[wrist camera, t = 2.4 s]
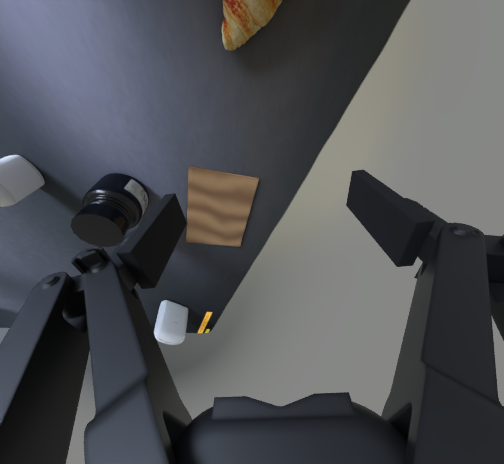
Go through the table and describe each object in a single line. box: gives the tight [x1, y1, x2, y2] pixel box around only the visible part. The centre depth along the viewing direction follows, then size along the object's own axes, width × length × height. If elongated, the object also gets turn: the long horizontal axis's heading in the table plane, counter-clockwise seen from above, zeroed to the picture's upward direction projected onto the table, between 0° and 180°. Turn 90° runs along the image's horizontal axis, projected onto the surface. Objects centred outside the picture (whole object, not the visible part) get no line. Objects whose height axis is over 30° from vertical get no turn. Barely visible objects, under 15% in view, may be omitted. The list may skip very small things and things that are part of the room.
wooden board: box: [186, 166, 259, 247], centre depth 45 cm, size 20×14×1 cm
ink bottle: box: [71, 173, 149, 247], centre depth 34 cm, size 10×9×12 cm
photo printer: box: [154, 300, 188, 345], centre depth 63 cm, size 10×4×12 cm, turn 38°
